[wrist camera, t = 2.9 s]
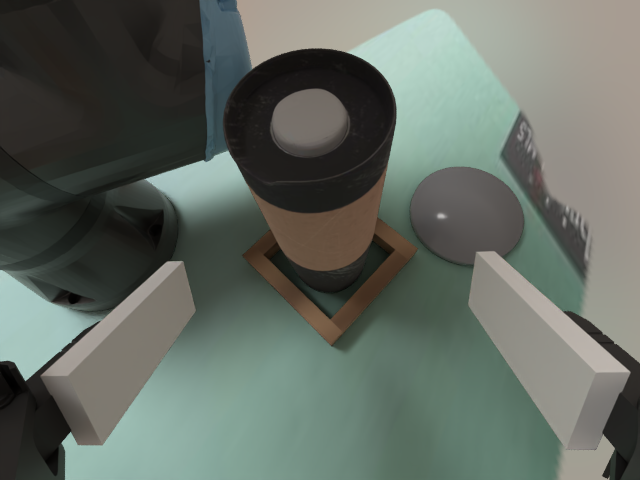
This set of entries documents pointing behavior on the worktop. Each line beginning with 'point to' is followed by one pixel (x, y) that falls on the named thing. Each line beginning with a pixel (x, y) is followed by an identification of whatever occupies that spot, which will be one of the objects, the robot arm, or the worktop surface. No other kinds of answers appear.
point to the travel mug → (315, 156)
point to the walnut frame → (357, 303)
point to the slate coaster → (465, 214)
